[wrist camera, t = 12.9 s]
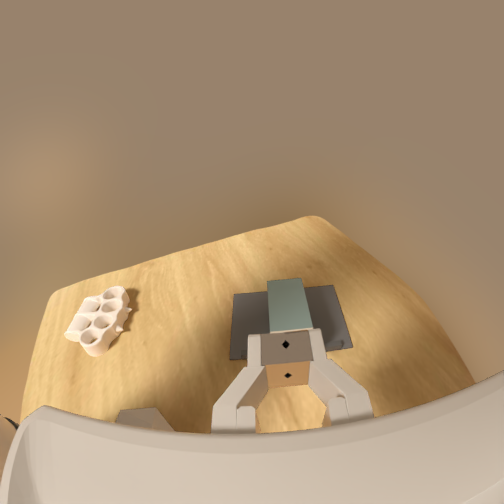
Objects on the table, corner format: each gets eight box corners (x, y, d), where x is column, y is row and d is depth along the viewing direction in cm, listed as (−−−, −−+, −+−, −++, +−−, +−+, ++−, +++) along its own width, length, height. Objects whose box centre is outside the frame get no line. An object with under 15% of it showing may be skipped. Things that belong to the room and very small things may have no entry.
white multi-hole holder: (93, 297, 61) (143, 295, 60) (63, 353, 45) (117, 359, 44) (88, 286, 59) (138, 284, 58) (55, 342, 44) (110, 348, 43)
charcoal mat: (229, 359, 43) (228, 355, 42) (234, 294, 57) (233, 290, 56) (352, 347, 42) (353, 343, 41) (332, 285, 55) (333, 281, 55)
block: (270, 337, 37) (267, 281, 49) (272, 365, 40) (269, 307, 52) (314, 333, 37) (301, 277, 49) (312, 361, 39) (301, 304, 52)
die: (195, 436, 32) (154, 385, 32) (182, 477, 24) (128, 421, 23) (153, 447, 33) (114, 401, 33) (135, 483, 24) (86, 433, 24)
